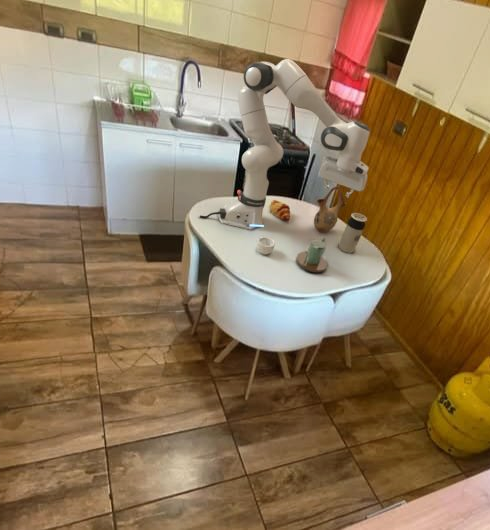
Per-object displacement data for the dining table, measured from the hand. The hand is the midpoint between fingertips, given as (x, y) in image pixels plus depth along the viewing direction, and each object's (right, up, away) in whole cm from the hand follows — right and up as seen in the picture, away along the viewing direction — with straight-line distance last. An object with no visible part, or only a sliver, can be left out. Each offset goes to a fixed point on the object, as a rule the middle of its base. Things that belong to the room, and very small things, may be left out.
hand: (336, 193), depth 164 cm
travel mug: (+10, -23, +22) cm, 34 cm away
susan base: (-10, -31, +4) cm, 33 cm away
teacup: (-31, -25, +7) cm, 41 cm away
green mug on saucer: (-10, -30, +4) cm, 32 cm away
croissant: (-20, -4, +39) cm, 44 cm away
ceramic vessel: (+1, -13, +32) cm, 35 cm away
